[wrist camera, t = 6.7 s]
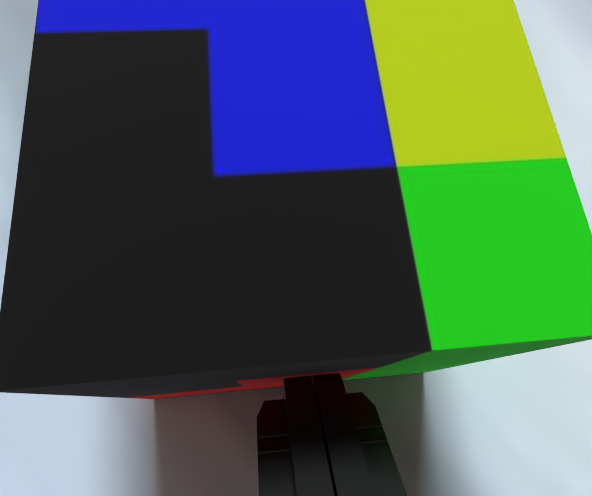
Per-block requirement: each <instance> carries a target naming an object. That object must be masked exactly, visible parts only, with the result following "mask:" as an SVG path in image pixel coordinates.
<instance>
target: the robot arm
mask: <svg viewBox="0 0 592 496" xmlns="http://www.w3.org/2000/svg"><path fill="white" fill-rule="evenodd" d="M283 396H284V399H280V400H269V401H264V403H263V405H262V407H261V409H260V411H259V414H258V416H257V443H258V475H259V496H407V495H406V492H405V489H404V486H403V483H402V480H401V478H400V475H399V472H398V469H397V466H396V463H395V461H394V458H393V455H392V452H391V449H390V446H389V444H388V442H387V438H386V435H385V432H384V430H383V428H382V424H381V421H380V418H379V415H378V413H377V410H376V407H375V406H374V405H373V403H372V402H371V401H370V400H369V399H368V398H367V397H366V396H365V395H364V394H363V393H362V392H359V393H347V394H346V391H345V387H344V384H343V380H342V377H341V375H340V373H338V374H328V375H317V376H312V379H311V376H306V377H296V378H285V379H283Z"/></svg>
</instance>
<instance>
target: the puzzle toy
mask: <svg viewBox="0 0 592 496" xmlns="http://www.w3.org/2000/svg"><path fill="white" fill-rule="evenodd" d="M590 339H592V233H591V231H590V228H589V225H588V222H587V219H586V216H585V213H584V210H583V207H582V204H581V201H580V198H579V195H578V192H577V189H576V186H575V183H574V180H573V177H572V174H571V171H570V168H569V165H568V162H567V159H566V156H565V153H564V150H563V147H562V144H561V141H560V138H559V135H558V132H557V129H556V126H555V123H554V120H553V117H552V114H551V111H550V108H549V105H548V102H547V99H546V96H545V93H544V90H543V87H542V84H541V81H540V78H539V75H538V72H537V69H536V66H535V63H534V60H533V57H532V54H531V52H530V49H529V46H528V43H527V40H526V37H525V34H524V31H523V28H522V25H521V22H520V19H519V16H518V13H517V10H516V7H515V4H514V1H513V0H39V1H38V9H37V18H36V26H35V34H34V42H33V50H32V58H31V66H30V74H29V83H28V91H27V99H26V107H25V115H24V123H23V131H22V139H21V147H20V156H19V164H18V172H17V180H16V188H15V196H14V204H13V212H12V221H11V229H10V237H9V245H8V253H7V261H6V269H5V277H4V285H3V294H2V302H1V310H0V392H7V393H29V394H52V395H75V396H97V397H120V398H143V399H159V398H169V397H179V396H189V395H199V394H210V393H220V392H230V391H240V390H251V389H261V388H271V387H281V386H283V379H285V378H296V377H306V376H311V379H312V376H317V375H328V374H338V373H340V375H341V377H342V380H353V379H363V378H373V377H383V376H394V375H404V374H414V373H424V372H429V371H434V370H439V369H444V368H449V367H454V366H459V365H464V364H469V363H474V362H479V361H484V360H489V359H494V358H499V357H504V356H510V355H515V354H520V353H525V352H530V351H535V350H540V349H545V348H550V347H555V346H560V345H565V344H570V343H575V342H580V341H585V340H590Z"/></svg>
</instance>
